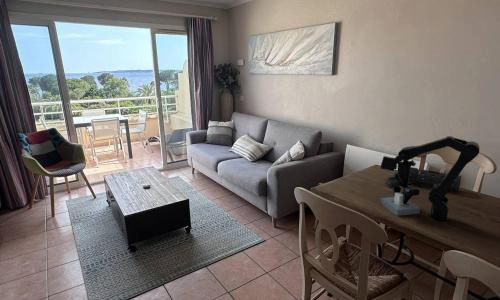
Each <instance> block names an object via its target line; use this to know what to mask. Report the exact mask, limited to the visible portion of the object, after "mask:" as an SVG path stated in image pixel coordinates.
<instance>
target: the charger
mask: <svg viewBox="0 0 500 300" xmlns="http://www.w3.org/2000/svg"><path fill="white" fill-rule="evenodd" d="M401 192H402V191H400V192H398V193H395V195H394V197H395V198H394V203H395V204H396V205H398V206H404V205H406V204H403V194H402V193H401Z"/></svg>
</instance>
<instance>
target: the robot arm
mask: <svg viewBox="0 0 500 300" xmlns="http://www.w3.org/2000/svg"><path fill="white" fill-rule="evenodd" d="M445 148H451V149H453V150H455V151H457V152H459V155H458V158H457V159H456V161H455V162H454V164H453V165H452V166H451V168H450V169H449V171H447V172H446V173H447V175H446V176H445V178H444V179H443V180H442V182H441V183H440V184H438V185H436V184H434V186H433V187H432V188H430V190H429V192H428V200H429V202H430V203H431V209H430V213H427V215H428V216H429V217H430V218H432V219H433V220H435V221H436V222H442V221H443V222H444V221H450V218H449V217H448V212H449V202H450V199H449V198H447V196H446V195H447V193H448V189H449V187H450V186H451V184H452V183H453V182H454V180H455V179H456V178H457V176H458V175H459V176H460V173H461V172H462V171H463V170H464V169H465V167H466V166H467V164H470V162H472V161H474V159H476V157H478V155H479V154H480V148H481V147H480V145H479V143H477V142H475V141H467V140H464V139H461V138H456V137H454V136H452V135H451V136H450V135H448V136H446V137H443V138H439V139H437V140H433V141H430V142H427V143H424V144H420V145H410V146H405V147H403V148H401V150H399V152H398V154H397V156H395V157H391V156H385V155H384V156H383V157H382V160H381V163H380V170H385V171H392V172H394V171H395V170H397V171H396V173H394V176H387V178H386V179H385V180H384V182H385V186H386V187H388V188H389V189H391V190H392V191H393V195H394V196H395V193H398V192H401V193H402V194H403V204H406V203H407V202H408V201H410V199H411V198H412V197H414V196H420V193H421V190H420V189H418V188H417V187H415V186H412V183H411V182H409V179H410V178H412V175H410V171H411V167H415V166H416V165H417V163H416V161H415V160H413V159H414V158H417V157H418V156H420V155H422V154H425V153H429V152H433V151H437V150H441V149H445ZM401 190H402V191H401Z"/></svg>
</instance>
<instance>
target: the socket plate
mask: <svg viewBox="0 0 500 300" xmlns="http://www.w3.org/2000/svg"><path fill="white" fill-rule="evenodd" d="M394 198H395V196H390V197H381V198H380V199H381V201H380V203H381V205H382V206H384V207H385V208H386V209H388V210H389V211H390V212H392V213H393V214H394V215H395V216H398V217H399V216H407V215H409V216H410V215H419V214H420V213H421V207H419V206H418V205H416V204H415V203H413V201H412V202H411V200H409V201H408V202H407V203H406V205H404V206H398V205H396V204H395V203H394Z"/></svg>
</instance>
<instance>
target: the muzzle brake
mask: <svg viewBox="0 0 500 300" xmlns="http://www.w3.org/2000/svg"><path fill="white" fill-rule="evenodd" d="M447 173H448V172H440V171H434V170H428V169H422V168H421V169H419V168H417V167H414V166H411V171H410V175H412V178H410V179H409V183H411V184H415V185H417V186H427V187H432V188H433V186H434V184H436V185H438V184H440V183H441V182H442V180H443V179H444V178H445V176H446V175H447ZM461 183H462V175H460V174H459V175H458V176H457V178H456V179H455V180H454V182H453V183H452V184H451V186H450V187H449V189H448V190H447V192H453V193H458V192H460V188H461Z"/></svg>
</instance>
